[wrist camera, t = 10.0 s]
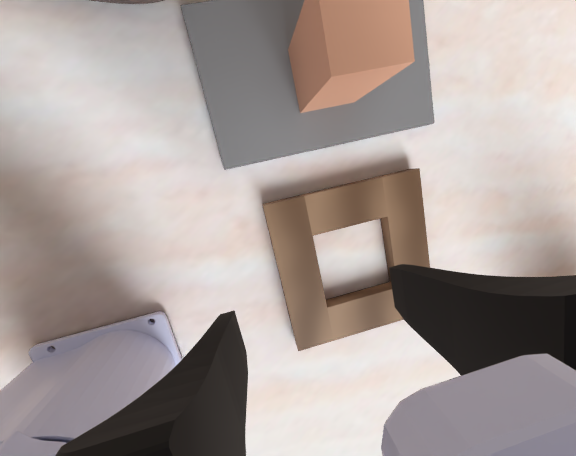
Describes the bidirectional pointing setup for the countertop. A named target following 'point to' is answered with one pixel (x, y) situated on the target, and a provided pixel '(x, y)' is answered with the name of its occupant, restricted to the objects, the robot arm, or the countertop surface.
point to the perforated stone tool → (129, 1)
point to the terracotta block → (348, 49)
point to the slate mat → (289, 84)
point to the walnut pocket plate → (335, 215)
